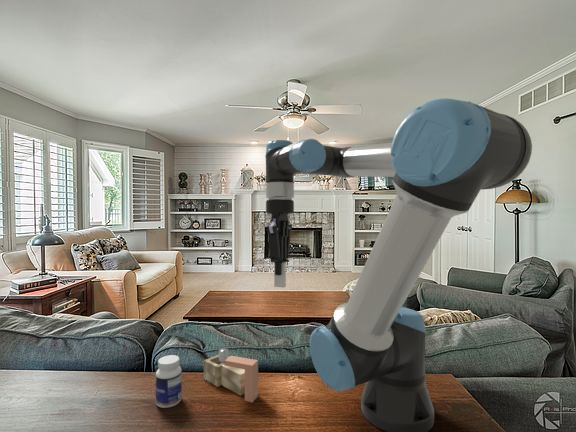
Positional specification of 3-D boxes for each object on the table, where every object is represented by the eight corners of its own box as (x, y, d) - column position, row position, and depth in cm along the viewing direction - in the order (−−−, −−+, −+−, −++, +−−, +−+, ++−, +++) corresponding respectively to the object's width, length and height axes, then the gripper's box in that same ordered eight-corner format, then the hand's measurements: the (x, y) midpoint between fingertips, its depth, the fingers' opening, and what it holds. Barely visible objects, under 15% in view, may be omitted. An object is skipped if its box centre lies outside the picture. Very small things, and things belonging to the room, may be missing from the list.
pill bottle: (151, 402, 76) (151, 359, 76) (174, 392, 80) (174, 351, 80) (162, 412, 72) (162, 367, 72) (186, 401, 76) (186, 358, 76)
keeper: (258, 395, 78) (258, 360, 78) (252, 402, 75) (252, 365, 75) (230, 390, 81) (230, 355, 81) (224, 396, 78) (224, 360, 78)
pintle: (229, 376, 87) (229, 349, 87) (224, 381, 85) (224, 352, 85) (221, 375, 88) (221, 347, 88) (217, 379, 86) (217, 351, 86)
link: (255, 387, 82) (255, 368, 82) (236, 397, 77) (236, 376, 77) (222, 371, 91) (222, 353, 91) (203, 379, 86) (203, 360, 86)
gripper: (276, 200, 95) (276, 281, 95) (256, 198, 83) (256, 290, 83) (300, 200, 92) (300, 282, 92) (284, 197, 80) (284, 293, 80)
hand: (280, 286), depth 87 cm, fingers closed
